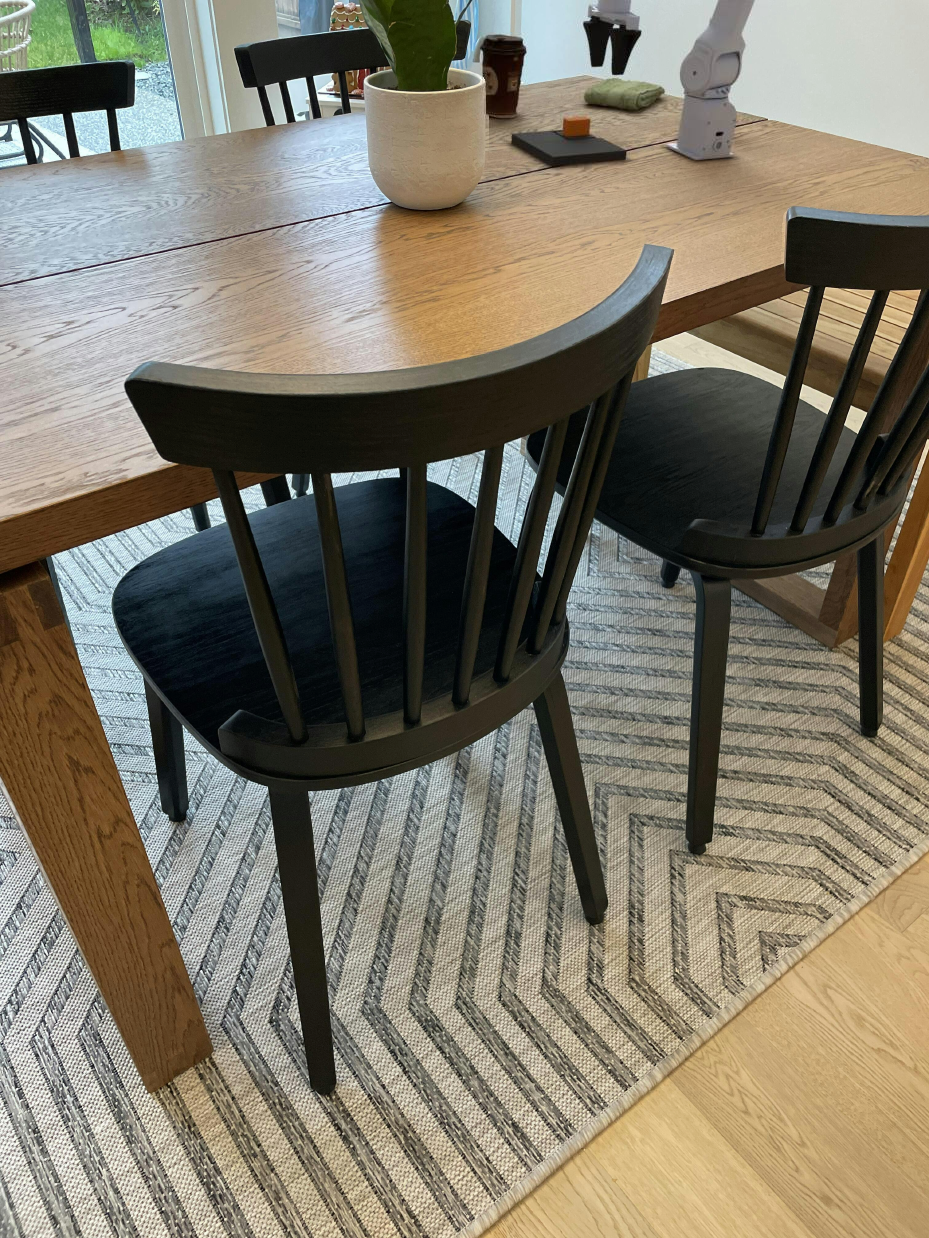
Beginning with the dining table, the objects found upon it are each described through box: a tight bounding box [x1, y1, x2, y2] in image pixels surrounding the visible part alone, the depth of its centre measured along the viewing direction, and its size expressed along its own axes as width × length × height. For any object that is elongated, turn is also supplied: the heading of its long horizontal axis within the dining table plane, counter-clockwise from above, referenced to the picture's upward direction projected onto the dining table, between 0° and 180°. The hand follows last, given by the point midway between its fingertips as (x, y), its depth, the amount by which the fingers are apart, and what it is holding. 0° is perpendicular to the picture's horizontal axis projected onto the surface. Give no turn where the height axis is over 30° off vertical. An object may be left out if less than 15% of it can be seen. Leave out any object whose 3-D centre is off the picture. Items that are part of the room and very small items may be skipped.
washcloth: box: [583, 77, 666, 111], centre depth 190 cm, size 13×18×3 cm
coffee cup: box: [479, 33, 527, 119], centre depth 175 cm, size 9×8×13 cm
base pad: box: [510, 129, 628, 168], centre depth 159 cm, size 16×14×2 cm
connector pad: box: [555, 116, 597, 140], centre depth 162 cm, size 5×5×4 cm
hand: (607, 70), depth 167 cm, fingers open, 7 cm apart
